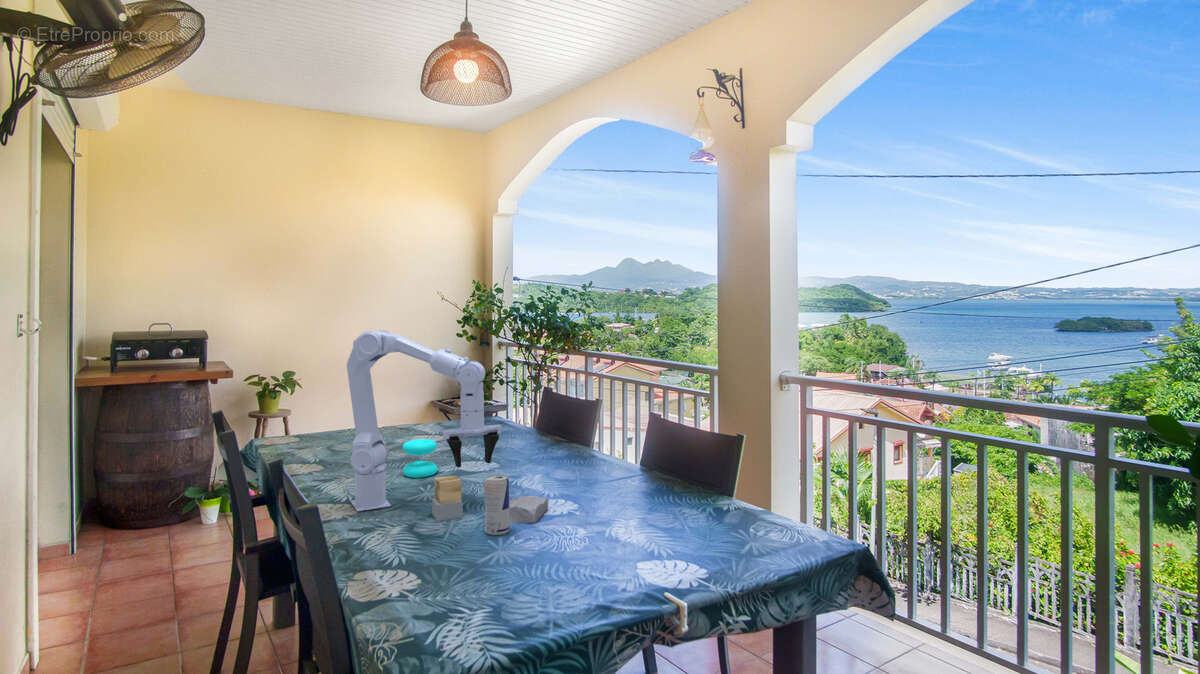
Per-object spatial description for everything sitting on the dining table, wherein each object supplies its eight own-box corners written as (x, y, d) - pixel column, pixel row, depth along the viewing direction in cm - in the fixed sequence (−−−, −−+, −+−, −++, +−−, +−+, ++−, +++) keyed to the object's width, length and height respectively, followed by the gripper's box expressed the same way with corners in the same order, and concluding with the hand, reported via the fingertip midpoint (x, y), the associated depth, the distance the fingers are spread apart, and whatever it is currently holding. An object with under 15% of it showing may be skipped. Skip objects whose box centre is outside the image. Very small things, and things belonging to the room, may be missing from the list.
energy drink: (513, 528, 142) (513, 475, 142) (502, 536, 137) (501, 481, 137) (492, 526, 144) (491, 473, 144) (480, 534, 139) (479, 479, 139)
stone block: (497, 530, 147) (538, 524, 145) (493, 510, 147) (534, 503, 145) (513, 516, 159) (551, 510, 157) (510, 497, 159) (548, 491, 157)
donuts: (408, 438, 197) (440, 438, 196) (409, 470, 197) (441, 470, 197) (397, 445, 187) (431, 444, 186) (398, 479, 187) (432, 478, 187)
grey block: (432, 514, 154) (431, 498, 154) (456, 511, 156) (456, 495, 156) (437, 522, 148) (436, 504, 148) (462, 518, 151) (462, 501, 151)
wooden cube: (434, 498, 153) (434, 478, 153) (455, 495, 156) (454, 475, 156) (440, 504, 149) (440, 482, 149) (461, 500, 151) (461, 479, 151)
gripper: (448, 415, 152) (449, 471, 152) (505, 409, 159) (506, 463, 160) (439, 411, 158) (440, 465, 158) (495, 406, 165) (496, 458, 166)
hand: (473, 464), depth 159 cm, fingers open, 7 cm apart
